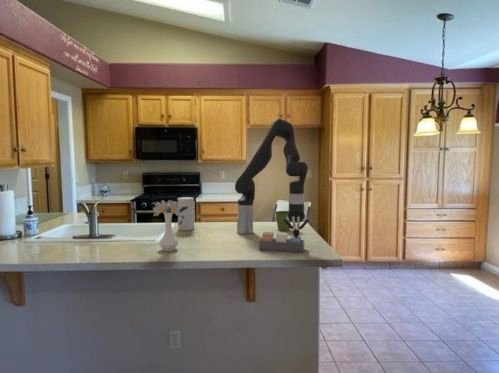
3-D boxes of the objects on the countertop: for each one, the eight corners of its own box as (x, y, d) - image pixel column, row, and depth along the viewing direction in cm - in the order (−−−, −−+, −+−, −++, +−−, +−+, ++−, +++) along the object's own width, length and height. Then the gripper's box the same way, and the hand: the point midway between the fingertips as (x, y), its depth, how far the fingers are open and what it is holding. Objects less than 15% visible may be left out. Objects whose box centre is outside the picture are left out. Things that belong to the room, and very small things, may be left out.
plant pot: (270, 229, 230) (271, 211, 229) (286, 227, 235) (287, 210, 234) (280, 232, 219) (280, 214, 218) (296, 231, 224) (297, 213, 223)
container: (175, 230, 226) (174, 198, 224) (182, 227, 236) (182, 196, 234) (189, 231, 223) (189, 199, 221) (196, 228, 233) (196, 197, 231)
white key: (276, 243, 179) (276, 234, 179) (277, 241, 184) (277, 232, 184) (286, 244, 178) (286, 235, 178) (287, 241, 183) (287, 233, 183)
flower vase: (184, 244, 191) (183, 197, 189) (177, 254, 173) (176, 202, 170) (160, 244, 191) (159, 197, 189) (150, 254, 173) (149, 202, 170)
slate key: (290, 246, 178) (290, 237, 177) (291, 244, 183) (291, 235, 182) (300, 247, 177) (300, 238, 176) (301, 244, 182) (301, 236, 181)
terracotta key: (262, 242, 180) (262, 234, 180) (263, 240, 185) (263, 231, 185) (272, 243, 179) (272, 234, 179) (273, 241, 184) (273, 232, 184)
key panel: (259, 250, 180) (259, 241, 179) (261, 246, 187) (261, 237, 187) (303, 252, 175) (303, 243, 175) (304, 248, 183) (304, 239, 183)
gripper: (310, 201, 180) (309, 235, 182) (283, 201, 183) (283, 234, 184) (309, 203, 173) (309, 239, 174) (282, 203, 175) (281, 238, 177)
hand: (296, 237), depth 179 cm, fingers closed
